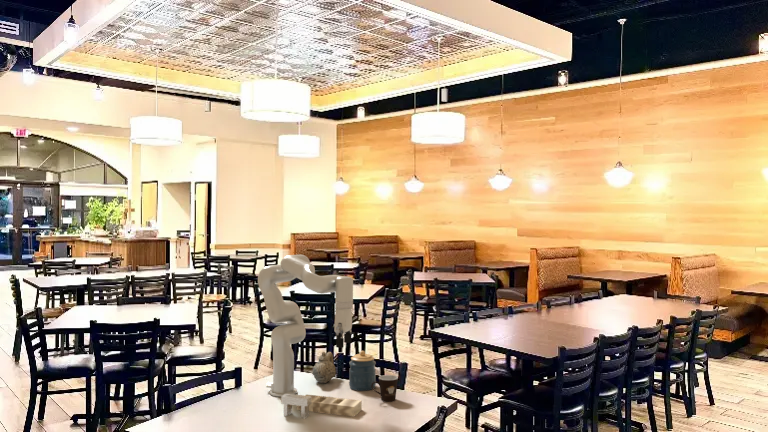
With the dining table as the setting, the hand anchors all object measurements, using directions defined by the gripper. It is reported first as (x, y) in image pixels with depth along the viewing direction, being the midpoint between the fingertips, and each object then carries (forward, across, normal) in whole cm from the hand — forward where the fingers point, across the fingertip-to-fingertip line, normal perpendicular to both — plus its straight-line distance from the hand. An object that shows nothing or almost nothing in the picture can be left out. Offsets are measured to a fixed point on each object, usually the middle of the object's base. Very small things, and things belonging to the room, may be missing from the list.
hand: (343, 345), depth 251 cm
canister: (+27, -32, -2) cm, 42 cm away
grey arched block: (+27, +15, -15) cm, 34 cm away
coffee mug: (+27, -16, +14) cm, 35 cm away
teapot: (+28, -36, -23) cm, 51 cm away
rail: (+27, +4, -5) cm, 28 cm away
